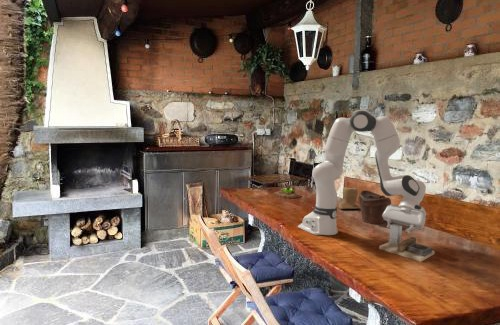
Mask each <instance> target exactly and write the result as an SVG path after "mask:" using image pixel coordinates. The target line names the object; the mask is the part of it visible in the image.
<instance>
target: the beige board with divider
mask: <svg viewBox="0 0 500 325" xmlns="http://www.w3.org/2000/svg"><path fill="white" fill-rule="evenodd" d="M378 247H379V248H378V249H379V250H381V251H384V252H388V253H391V254H395V255H398V256H400V257H404V258H407V259H411V260H412V261H413V260H414V261H417V262H421V263H422V262H423V261H425V260H427V259H428V258H430V257H432V256H433V255H435V250H433V247H432V246H427V245H424V244H420V243H418V242H417V237H414V236H410V237H409V238H407V239H404V240H401V242H400V243H398V247H395V246H392V245H389V241H387V242H385V243H383V244H380V245H379V246H378Z"/></svg>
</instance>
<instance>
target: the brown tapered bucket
mask: <svg viewBox="0 0 500 325" xmlns="http://www.w3.org/2000/svg"><path fill="white" fill-rule="evenodd" d="M358 195H359V196H358V197H357V201H358V203H359V207H360V208H359V209H360V214H361V220H362V221H363V222H365V223H368V224H372V225H373V224H374V225H375V224H376V225H377V224H378V225H381V224H383V223H384V221H385V220H384V219H383V217H382V214H383V213H384V211H385V210H386V208H387V206H389V205H393V203H392V200H391V198H390V197H388V196H386V195H381V194H378V193H375V192H374V191H373V192H372V191H370V190H362V191H360V193H359V194H358Z"/></svg>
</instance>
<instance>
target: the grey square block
mask: <svg viewBox="0 0 500 325" xmlns="http://www.w3.org/2000/svg"><path fill="white" fill-rule="evenodd" d="M402 231H403V224H398V223H392V224H391V225H390V229H389V238H388V239H389V240H388V242H389V245H392V246H395V247H398V243H400V242H402V233H403V232H402Z"/></svg>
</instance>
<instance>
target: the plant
mask: <svg viewBox="0 0 500 325" xmlns="http://www.w3.org/2000/svg"><path fill="white" fill-rule="evenodd" d="M284 185H286V187H283V188H281V190H279V191H275V192H273V196H276V197H277V198H281V199H287V200H293V199H296V198H302V197H301V196H302V193H300V192H297V191H295V190H294V189H293V188H294V185H293V184H291V185H289V184H288V182H287V181H285V182H284Z"/></svg>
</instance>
